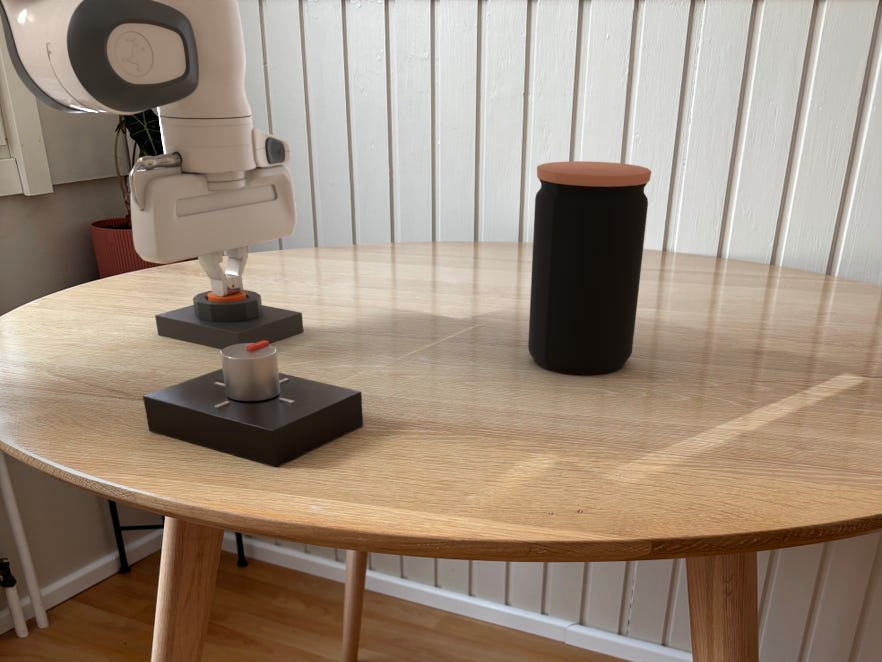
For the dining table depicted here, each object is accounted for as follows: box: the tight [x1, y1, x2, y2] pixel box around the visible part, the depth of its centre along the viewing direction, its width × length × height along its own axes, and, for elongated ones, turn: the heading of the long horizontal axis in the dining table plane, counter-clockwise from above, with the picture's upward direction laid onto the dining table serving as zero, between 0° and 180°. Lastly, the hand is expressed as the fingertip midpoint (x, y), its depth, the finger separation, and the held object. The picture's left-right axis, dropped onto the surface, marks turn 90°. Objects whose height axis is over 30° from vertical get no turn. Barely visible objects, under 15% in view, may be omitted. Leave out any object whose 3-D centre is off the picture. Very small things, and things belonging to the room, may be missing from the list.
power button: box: [208, 291, 246, 302], centre depth 101 cm, size 4×4×2 cm
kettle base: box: [154, 289, 304, 351], centre depth 102 cm, size 12×10×4 cm
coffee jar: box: [527, 160, 652, 376], centre depth 92 cm, size 11×11×18 cm
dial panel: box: [142, 367, 364, 468], centre depth 78 cm, size 14×11×3 cm
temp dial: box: [220, 340, 280, 401], centre depth 76 cm, size 4×4×4 cm
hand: (228, 293), depth 100 cm, fingers closed, pressing on power button
